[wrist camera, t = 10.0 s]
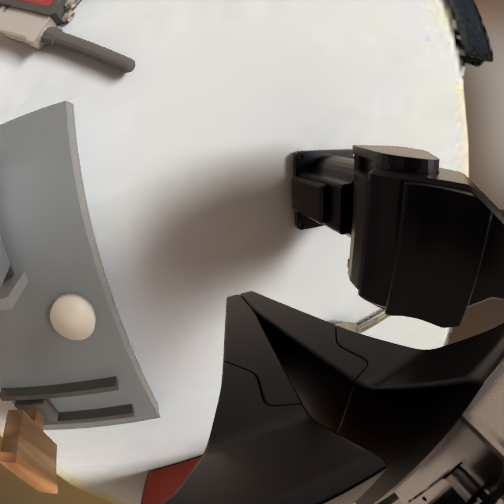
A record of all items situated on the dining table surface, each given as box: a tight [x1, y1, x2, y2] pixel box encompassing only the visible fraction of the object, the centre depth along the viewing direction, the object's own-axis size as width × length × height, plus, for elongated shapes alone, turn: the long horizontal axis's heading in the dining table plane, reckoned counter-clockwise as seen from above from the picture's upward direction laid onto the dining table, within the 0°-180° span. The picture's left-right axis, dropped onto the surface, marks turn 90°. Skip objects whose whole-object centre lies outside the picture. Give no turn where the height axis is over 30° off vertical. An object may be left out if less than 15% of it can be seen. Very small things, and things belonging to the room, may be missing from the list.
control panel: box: [0, 101, 160, 430], centre depth 16 cm, size 16×29×6 cm, turn 4°
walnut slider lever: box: [0, 399, 59, 494], centre depth 15 cm, size 4×6×9 cm, turn 4°
